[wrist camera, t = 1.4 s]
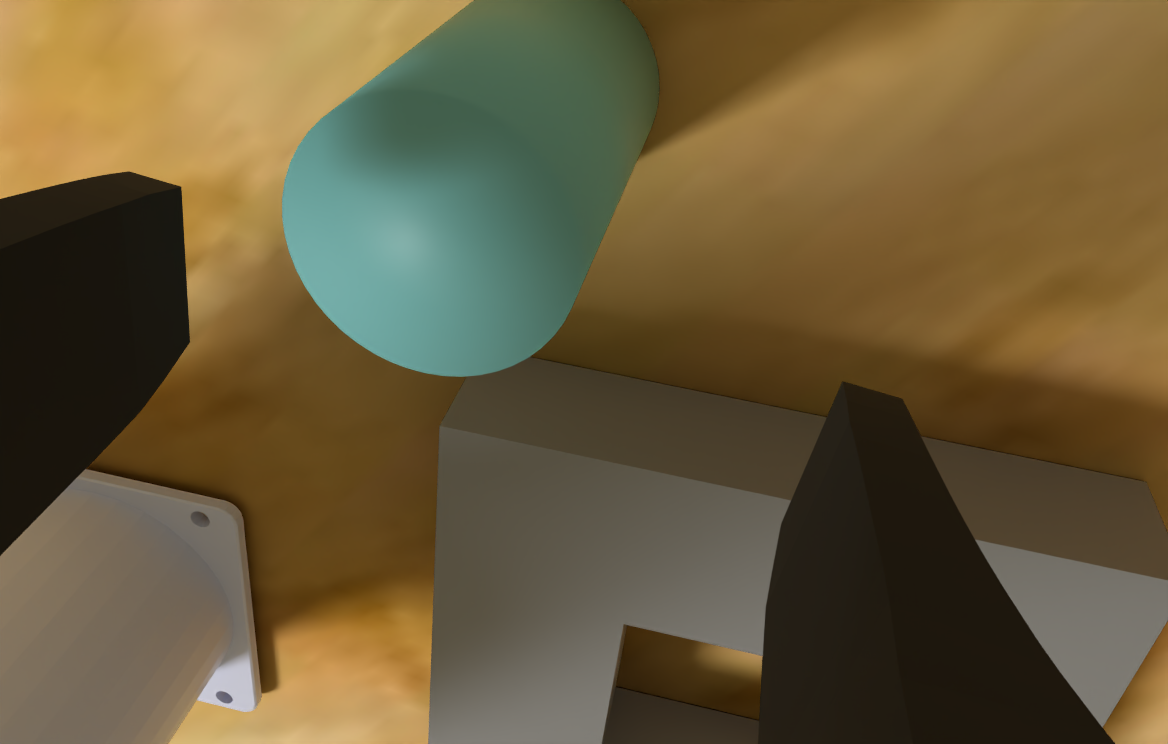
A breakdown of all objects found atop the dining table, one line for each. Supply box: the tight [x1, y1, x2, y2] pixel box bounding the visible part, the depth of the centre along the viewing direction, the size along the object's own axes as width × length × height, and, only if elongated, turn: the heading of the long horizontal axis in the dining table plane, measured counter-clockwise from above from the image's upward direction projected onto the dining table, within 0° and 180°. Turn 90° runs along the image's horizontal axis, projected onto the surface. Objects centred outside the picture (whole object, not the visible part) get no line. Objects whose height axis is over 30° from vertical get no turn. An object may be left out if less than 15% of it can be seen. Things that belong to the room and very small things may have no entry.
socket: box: [428, 357, 1168, 744], centre depth 24 cm, size 14×14×3 cm
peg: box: [282, 0, 660, 377], centre depth 16 cm, size 4×4×7 cm
